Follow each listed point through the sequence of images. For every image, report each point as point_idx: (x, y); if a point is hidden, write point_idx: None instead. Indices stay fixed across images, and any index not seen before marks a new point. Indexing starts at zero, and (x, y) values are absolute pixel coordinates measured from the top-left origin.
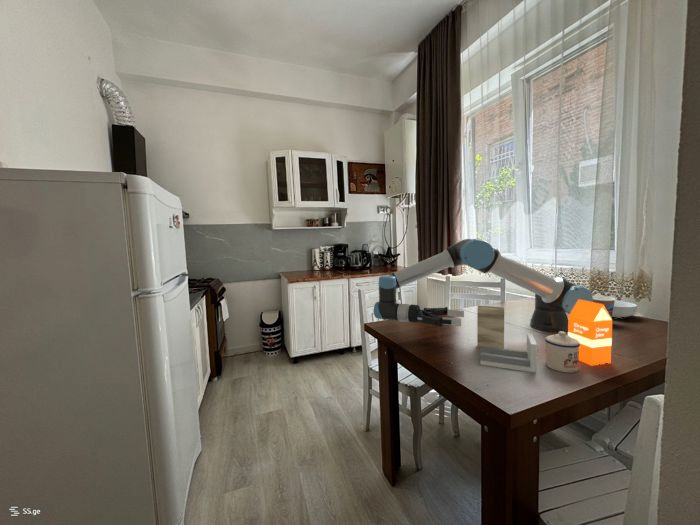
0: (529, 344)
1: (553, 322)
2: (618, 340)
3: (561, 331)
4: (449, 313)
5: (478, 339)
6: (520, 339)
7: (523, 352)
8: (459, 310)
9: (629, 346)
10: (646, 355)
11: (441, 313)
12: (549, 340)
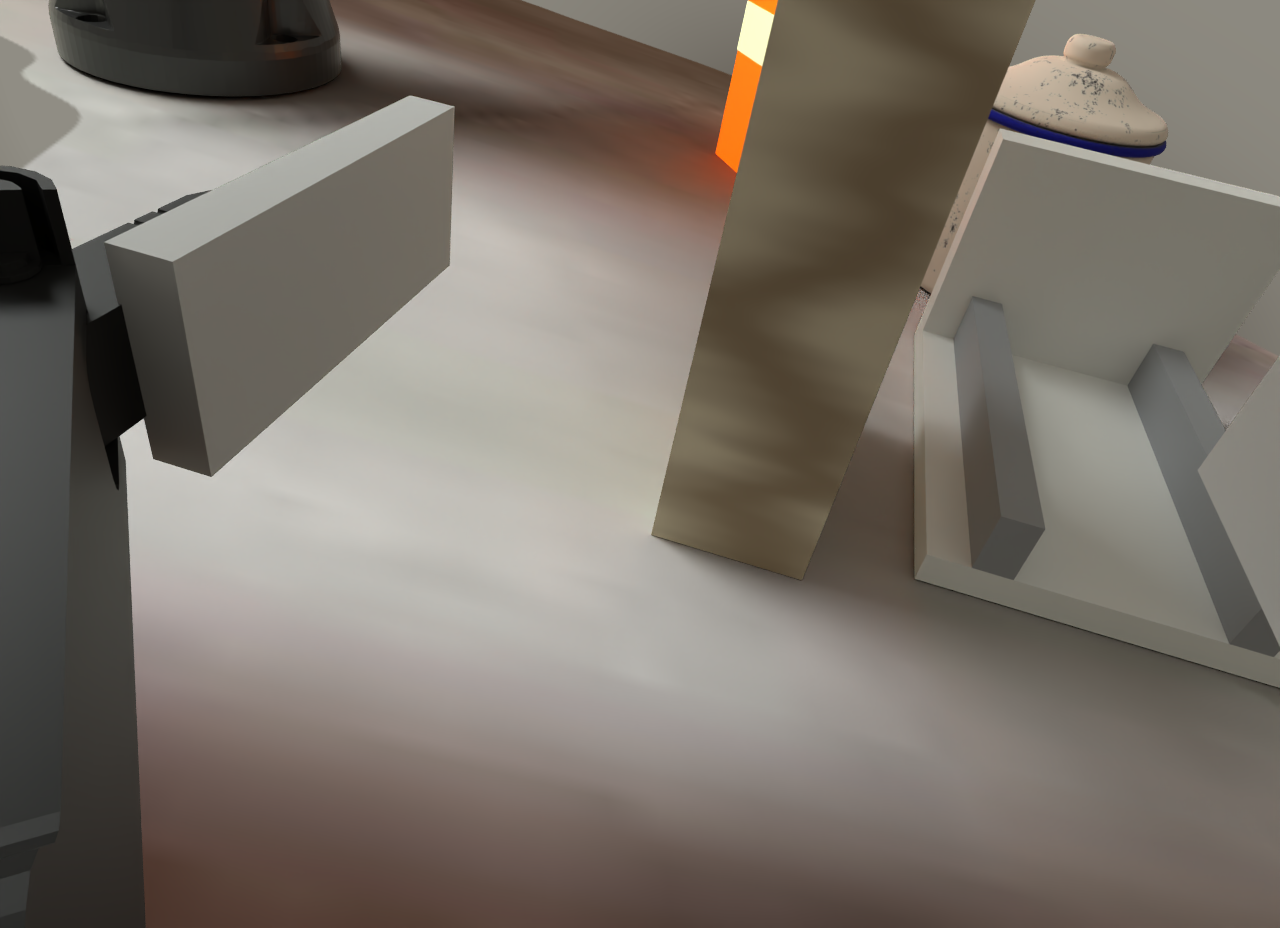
0: (1175, 227)
1: (313, 7)
2: (510, 38)
3: (1081, 36)
4: (247, 367)
5: (843, 470)
6: (467, 233)
7: (1004, 319)
8: (401, 135)
9: (592, 54)
10: (699, 74)
11: (117, 572)
12: (1131, 134)
